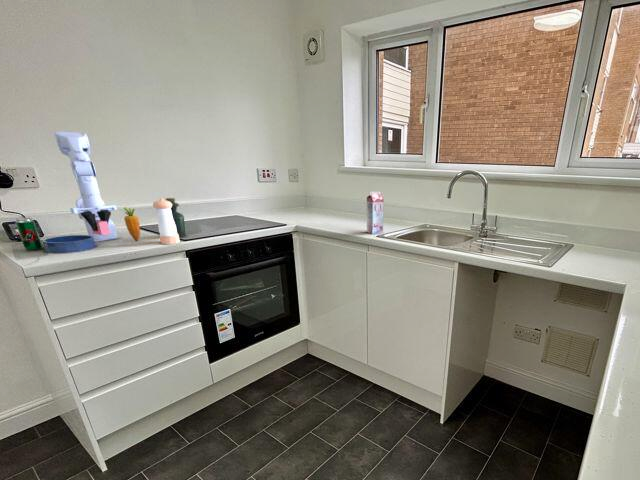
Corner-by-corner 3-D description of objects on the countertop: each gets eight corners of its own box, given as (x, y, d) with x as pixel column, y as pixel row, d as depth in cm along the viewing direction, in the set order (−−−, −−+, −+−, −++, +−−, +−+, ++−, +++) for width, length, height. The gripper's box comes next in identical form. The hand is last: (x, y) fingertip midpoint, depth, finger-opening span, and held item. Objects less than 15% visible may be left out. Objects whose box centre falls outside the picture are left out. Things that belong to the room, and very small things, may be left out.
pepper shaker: (177, 244, 155) (168, 199, 148) (158, 244, 153) (148, 199, 146) (181, 240, 161) (173, 197, 155) (163, 241, 159) (154, 197, 153)
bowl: (82, 242, 151) (80, 233, 150) (104, 247, 146) (101, 237, 144) (37, 249, 138) (34, 239, 137) (58, 254, 133) (55, 244, 131)
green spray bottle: (169, 239, 164) (161, 199, 157) (166, 236, 170) (158, 197, 163) (189, 237, 169) (182, 198, 162) (185, 234, 174) (178, 197, 168)
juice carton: (383, 232, 196) (383, 192, 188) (372, 233, 192) (372, 192, 184) (376, 230, 201) (377, 191, 193) (366, 231, 197) (366, 191, 189)
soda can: (46, 248, 141) (36, 218, 136) (33, 251, 136) (22, 220, 131) (35, 247, 141) (24, 217, 137) (21, 250, 136) (10, 219, 132)
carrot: (146, 240, 159) (138, 207, 153) (135, 242, 154) (126, 208, 149) (138, 239, 160) (130, 206, 155) (127, 241, 156) (118, 207, 150)
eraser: (101, 232, 142) (98, 219, 140) (110, 234, 140) (107, 221, 138) (93, 233, 139) (89, 220, 138) (102, 235, 137) (98, 222, 135)
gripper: (74, 196, 126) (85, 234, 131) (117, 194, 139) (126, 228, 144) (63, 195, 129) (74, 232, 134) (107, 193, 141) (115, 226, 146)
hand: (100, 230), depth 139 cm, fingers closed on eraser, 3 cm apart
